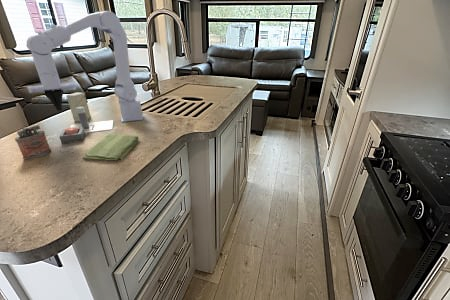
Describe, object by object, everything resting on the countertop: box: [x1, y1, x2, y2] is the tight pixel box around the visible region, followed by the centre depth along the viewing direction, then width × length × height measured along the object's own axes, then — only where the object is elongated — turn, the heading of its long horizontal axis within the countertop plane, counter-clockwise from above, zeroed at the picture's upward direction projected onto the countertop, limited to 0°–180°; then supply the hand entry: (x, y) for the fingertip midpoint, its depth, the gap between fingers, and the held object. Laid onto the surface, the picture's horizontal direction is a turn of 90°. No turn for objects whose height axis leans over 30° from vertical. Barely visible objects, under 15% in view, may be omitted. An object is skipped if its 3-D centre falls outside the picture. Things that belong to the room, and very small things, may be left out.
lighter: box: [14, 124, 52, 162], centre depth 78 cm, size 8×3×10 cm, turn 148°
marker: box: [76, 107, 89, 129], centre depth 99 cm, size 3×3×9 cm
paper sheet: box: [69, 119, 114, 134], centre depth 103 cm, size 17×12×1 cm
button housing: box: [59, 127, 86, 145], centre depth 92 cm, size 7×7×3 cm
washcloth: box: [82, 133, 140, 161], centre depth 84 cm, size 13×18×3 cm
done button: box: [64, 127, 78, 135], centre depth 91 cm, size 4×4×2 cm
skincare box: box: [66, 91, 92, 122], centre depth 110 cm, size 6×4×12 cm
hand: (59, 109), depth 91 cm, fingers closed
